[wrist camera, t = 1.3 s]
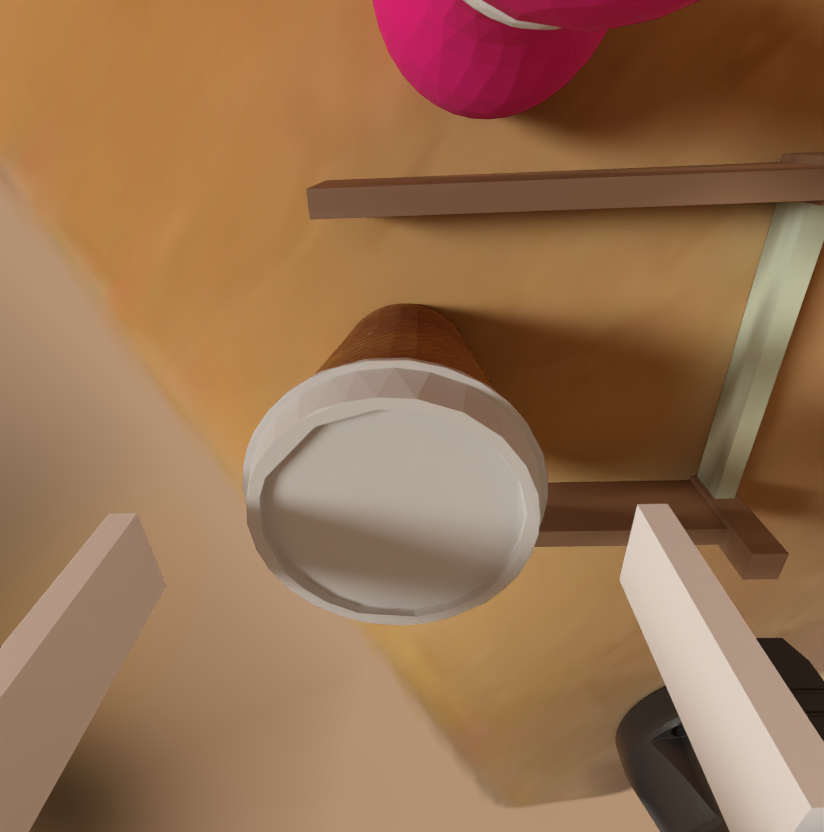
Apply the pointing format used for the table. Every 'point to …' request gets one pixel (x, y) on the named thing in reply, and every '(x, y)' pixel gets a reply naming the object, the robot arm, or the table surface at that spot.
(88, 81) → the table surface
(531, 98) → the pepper mill
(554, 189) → the bay
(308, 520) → the disposable coffee cup
